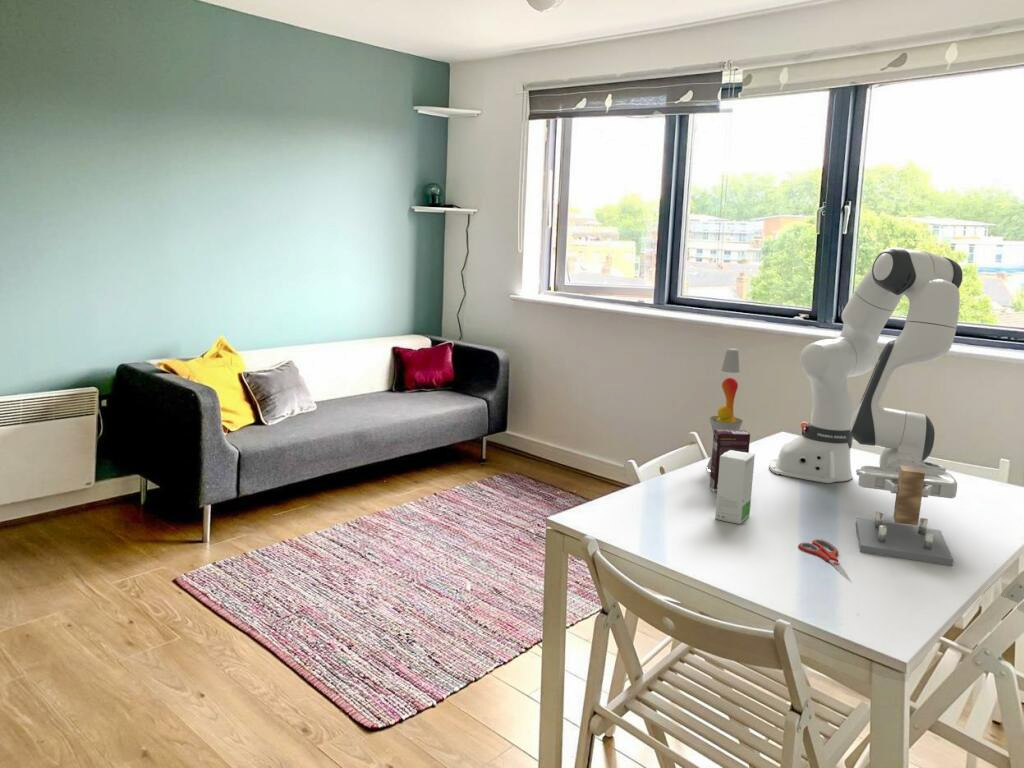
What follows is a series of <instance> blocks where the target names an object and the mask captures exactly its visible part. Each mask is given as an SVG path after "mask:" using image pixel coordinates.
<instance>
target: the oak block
mask: <svg viewBox="0 0 1024 768" xmlns="http://www.w3.org/2000/svg"><path fill="white" fill-rule="evenodd" d="M924 477H925V472H924V470H923V468H920V467H912V466H903V465H900V469H899V477H898V485H899V490H898V491H899V492H898V494H896V493H895V494H896V495H895V501H894V507H893V508H894V510H893V519H894V521H895V522H894V524H900V525H907V526H914V527H919V523H920V514H921V507H922V498H923V497H922V492H923V485H924Z"/></svg>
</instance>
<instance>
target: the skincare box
mask: <svg viewBox="0 0 1024 768" xmlns="http://www.w3.org/2000/svg"><path fill="white" fill-rule="evenodd" d="M755 454H756V453H751V452H749V453H746V452H739V451H733V450H729V451H728V452H725V453H724V454H723V455H721V456H720V463H719V476H718V488H717V492H716V501H715V502H716V503H715V512H714V513H715V514H714V519H715V520H718V521H722V522H726V523H731V524H736V525H737V524H738V525H741V524H742V523H743V522H745V521H746V519H747V518H749V516H750V514H751V502H752V490H753V480H754V478H753V477H754V467H755V457H756V455H755Z"/></svg>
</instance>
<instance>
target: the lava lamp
mask: <svg viewBox="0 0 1024 768" xmlns="http://www.w3.org/2000/svg"><path fill="white" fill-rule="evenodd" d="M721 372H724V373H731V374H732V373H735V374H736V373H740V356H739V349H737V348H727V349H726V352H725V356H724V359H723V364H722V367H721ZM738 383H739V382H738V381H737V380H736V379H735V378H733V377H727V378H725V379H724V380H722V383H721V388H722V391H723V393H724V396H725V405H723V406H721V407H719V408H718V409H717V415H714V416H710V417H709V423H710V426H711V430H712V435H714V429H716V430H741V426H742V424H743V420H742V419H741V418H738V417H735V414H734V404H735V397H736V394H737V390H738V388H739V385H738ZM711 461H712V454H711V455H710V457H709V460H708V461H707V465H706V467H708V469H710V470H711Z"/></svg>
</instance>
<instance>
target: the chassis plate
mask: <svg viewBox="0 0 1024 768" xmlns="http://www.w3.org/2000/svg"><path fill="white" fill-rule="evenodd" d="M855 519H856V520H855V528H856V529H857V530H856V529H855V530H856V536H857V535H858V536H857V542H858V541H859V542H858V547H859V552H860V553H865V554H866V553H867V554H873V555H880V556H885V557H886V556H887V557H890V558H891V557H892V558H899V559H903V560H904V559H905V560H911V561H917V562H925V563H931V564H937V565H944V566H948V567H950V566H951V567H952V566H953V565H954V557H953V556H952V554H951V551H950V549H949V546H948V544H947V541H946V539H945V537H944V535H943V533H942V531H941V529H934V528H929V527H927V530H926V532H932V533H934V536H933V542H932V549H931V550H927V549H924V548H923V546H924V539H925V535H920V534H918V530H919V526H915V525H908V524H900V523H893V522H885V521H883V522H882V525H885V526H887V533H886V540H885V543H881V542H878V541H877V539H878V532H879V529H878V528H875V527H874V524H875V520H871V519H865V518H855Z"/></svg>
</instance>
